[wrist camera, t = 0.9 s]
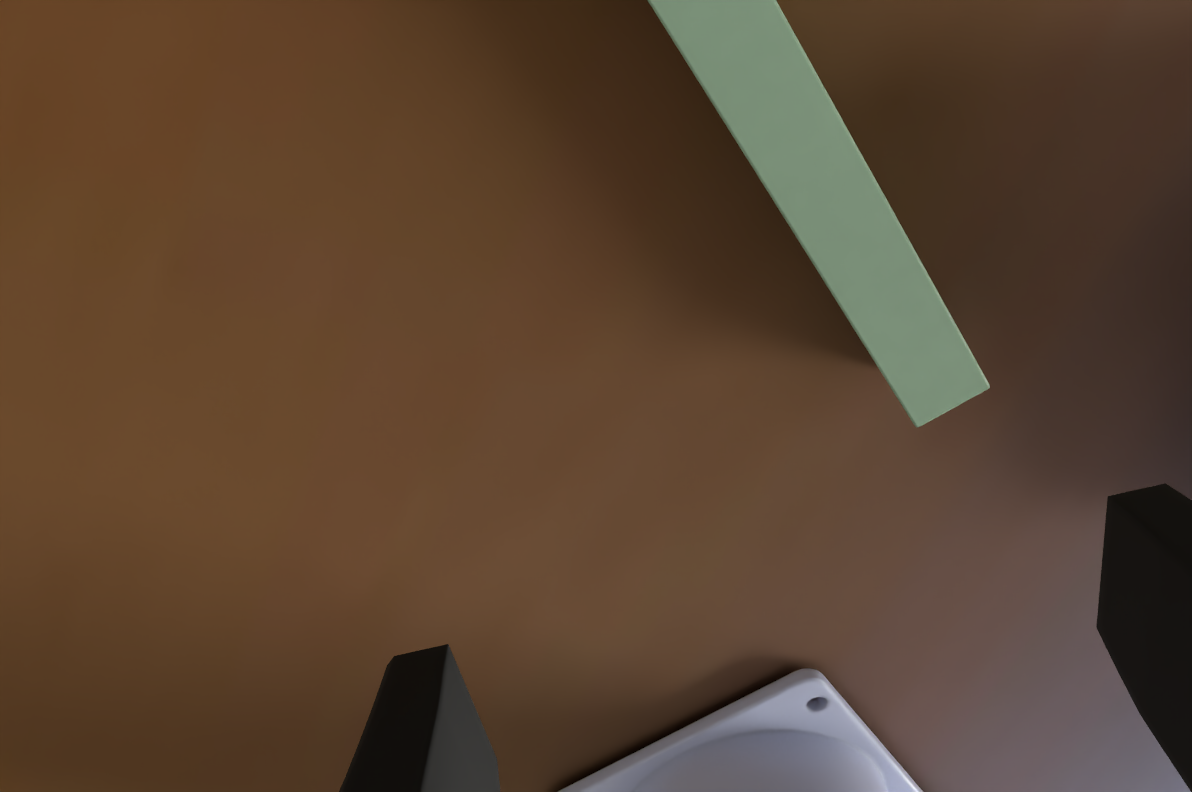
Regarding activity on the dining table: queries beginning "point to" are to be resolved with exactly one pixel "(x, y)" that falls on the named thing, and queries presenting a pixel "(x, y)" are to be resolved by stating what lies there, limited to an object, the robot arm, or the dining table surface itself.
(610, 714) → the dining table surface
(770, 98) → the frame
